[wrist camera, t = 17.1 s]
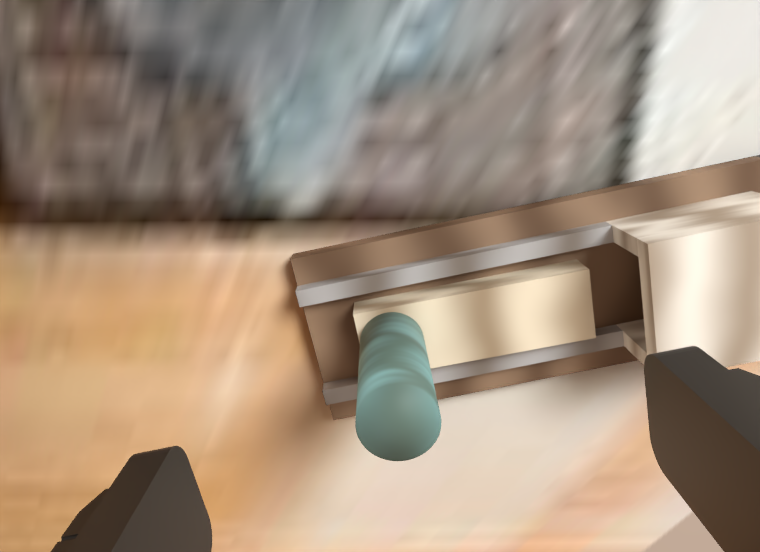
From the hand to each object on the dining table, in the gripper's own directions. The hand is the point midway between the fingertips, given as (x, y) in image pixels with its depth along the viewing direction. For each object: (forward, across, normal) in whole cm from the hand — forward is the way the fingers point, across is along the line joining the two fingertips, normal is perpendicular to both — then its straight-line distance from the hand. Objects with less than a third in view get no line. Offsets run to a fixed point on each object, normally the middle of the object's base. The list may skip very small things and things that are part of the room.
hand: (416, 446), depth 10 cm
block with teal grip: (+31, -4, +10) cm, 33 cm away
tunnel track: (+32, -13, +10) cm, 36 cm away
